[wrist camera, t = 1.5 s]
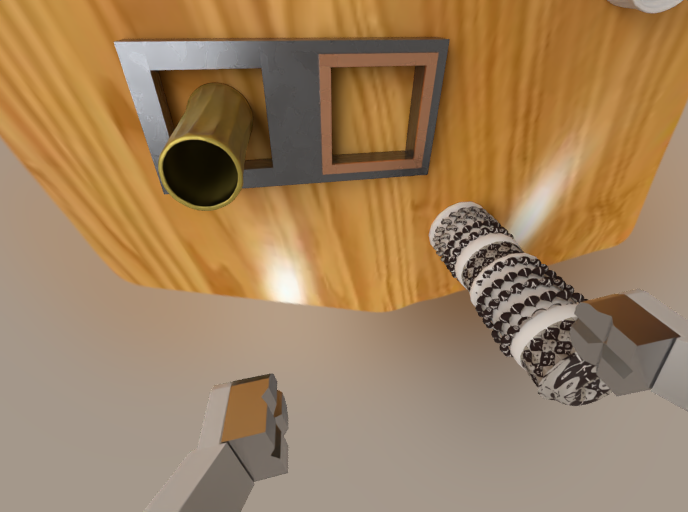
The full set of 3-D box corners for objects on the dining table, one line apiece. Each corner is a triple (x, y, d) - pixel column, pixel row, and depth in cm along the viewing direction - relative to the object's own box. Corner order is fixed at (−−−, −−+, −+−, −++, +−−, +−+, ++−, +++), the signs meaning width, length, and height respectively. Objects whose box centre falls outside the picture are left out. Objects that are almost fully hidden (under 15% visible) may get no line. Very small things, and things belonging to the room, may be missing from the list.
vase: (208, 156, 36) (184, 228, 24) (173, 95, 32) (126, 148, 21) (263, 135, 36) (265, 198, 24) (234, 72, 32) (221, 112, 20)
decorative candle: (442, 193, 44) (591, 350, 24) (501, 203, 47) (676, 352, 27) (415, 251, 49) (522, 421, 29) (470, 258, 52) (600, 416, 32)
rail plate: (123, 38, 29) (112, 42, 27) (438, 37, 33) (451, 39, 31) (169, 183, 36) (163, 195, 34) (419, 166, 41) (428, 175, 39)
